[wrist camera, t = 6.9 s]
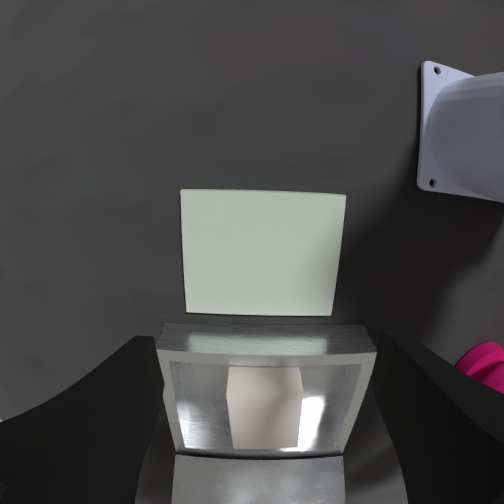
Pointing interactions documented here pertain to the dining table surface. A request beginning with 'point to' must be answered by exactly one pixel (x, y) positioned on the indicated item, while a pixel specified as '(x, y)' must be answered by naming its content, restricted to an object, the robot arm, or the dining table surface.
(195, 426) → the case
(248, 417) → the block
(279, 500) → the lid
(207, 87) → the dining table surface
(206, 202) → the pad
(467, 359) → the pepper mill
